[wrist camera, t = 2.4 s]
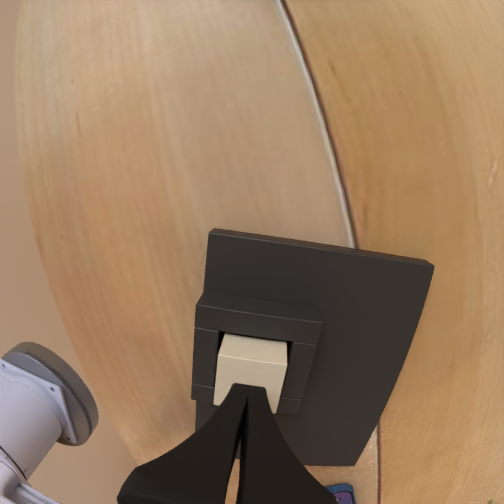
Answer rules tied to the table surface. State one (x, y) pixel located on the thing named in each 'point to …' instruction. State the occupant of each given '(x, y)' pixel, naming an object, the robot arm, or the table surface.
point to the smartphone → (343, 493)
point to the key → (251, 366)
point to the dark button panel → (312, 332)
